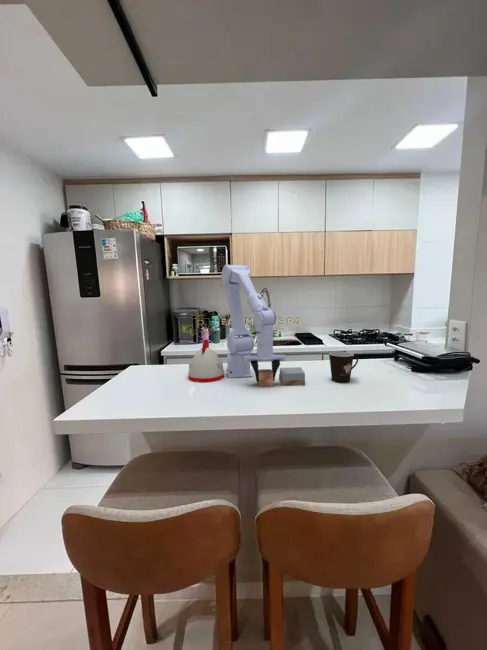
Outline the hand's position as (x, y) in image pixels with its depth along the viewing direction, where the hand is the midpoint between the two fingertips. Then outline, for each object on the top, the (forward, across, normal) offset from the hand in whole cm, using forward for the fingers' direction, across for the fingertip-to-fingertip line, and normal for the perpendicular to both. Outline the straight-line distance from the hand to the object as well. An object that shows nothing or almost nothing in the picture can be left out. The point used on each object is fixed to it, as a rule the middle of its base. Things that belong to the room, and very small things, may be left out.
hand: (265, 380), depth 110 cm
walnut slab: (+2, +10, +2) cm, 10 cm away
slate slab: (-1, +10, +2) cm, 10 cm away
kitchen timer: (+2, -22, +12) cm, 25 cm away
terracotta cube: (+1, 0, 0) cm, 1 cm away
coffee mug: (+2, +30, +2) cm, 30 cm away
